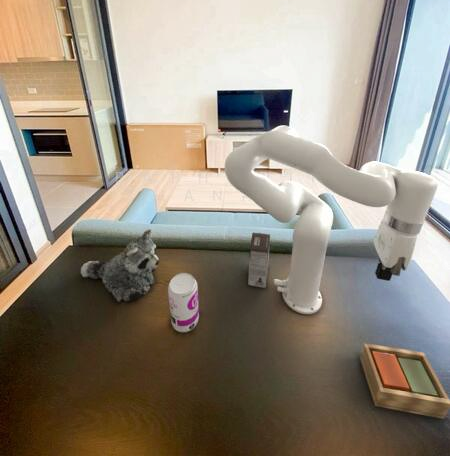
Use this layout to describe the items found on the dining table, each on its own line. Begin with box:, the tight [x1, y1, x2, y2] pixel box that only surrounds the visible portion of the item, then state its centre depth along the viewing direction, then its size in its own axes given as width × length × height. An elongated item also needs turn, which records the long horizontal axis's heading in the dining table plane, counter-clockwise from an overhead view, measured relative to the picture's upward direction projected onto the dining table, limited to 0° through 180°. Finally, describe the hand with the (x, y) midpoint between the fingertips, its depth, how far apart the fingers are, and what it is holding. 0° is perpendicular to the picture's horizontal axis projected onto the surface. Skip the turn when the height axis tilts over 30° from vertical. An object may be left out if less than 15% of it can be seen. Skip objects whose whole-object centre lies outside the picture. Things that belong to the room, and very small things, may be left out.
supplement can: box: [167, 272, 200, 333], centre depth 71 cm, size 8×8×15 cm
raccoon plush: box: [80, 228, 160, 303], centre depth 82 cm, size 15×32×21 cm, turn 89°
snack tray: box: [359, 343, 450, 420], centre depth 58 cm, size 14×10×6 cm
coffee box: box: [247, 232, 271, 289], centre depth 86 cm, size 9×6×16 cm
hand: (382, 277), depth 66 cm, fingers closed
